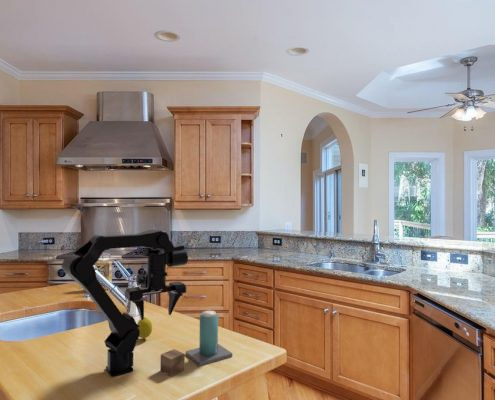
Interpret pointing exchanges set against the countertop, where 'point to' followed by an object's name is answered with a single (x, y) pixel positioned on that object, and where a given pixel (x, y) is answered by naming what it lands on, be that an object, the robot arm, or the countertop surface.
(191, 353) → the slate coaster
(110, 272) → the candy box
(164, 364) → the walnut block
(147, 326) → the lemon
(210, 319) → the spice jar
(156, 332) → the countertop surface
